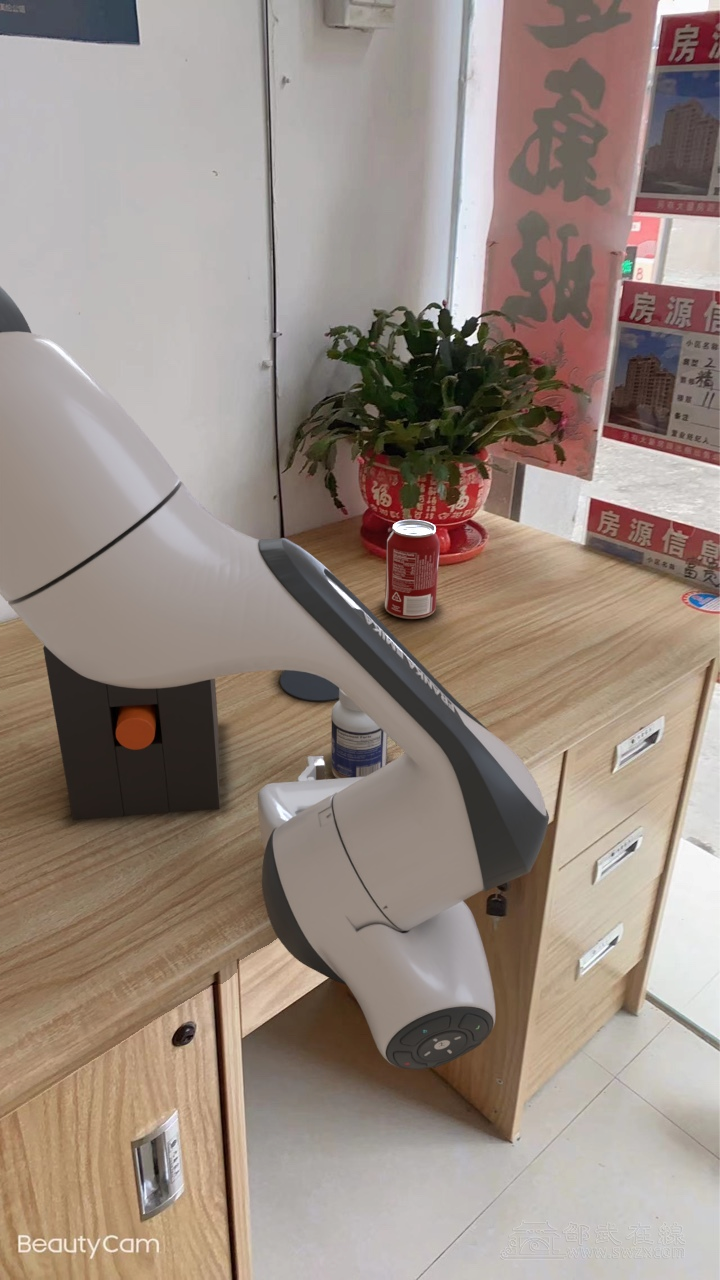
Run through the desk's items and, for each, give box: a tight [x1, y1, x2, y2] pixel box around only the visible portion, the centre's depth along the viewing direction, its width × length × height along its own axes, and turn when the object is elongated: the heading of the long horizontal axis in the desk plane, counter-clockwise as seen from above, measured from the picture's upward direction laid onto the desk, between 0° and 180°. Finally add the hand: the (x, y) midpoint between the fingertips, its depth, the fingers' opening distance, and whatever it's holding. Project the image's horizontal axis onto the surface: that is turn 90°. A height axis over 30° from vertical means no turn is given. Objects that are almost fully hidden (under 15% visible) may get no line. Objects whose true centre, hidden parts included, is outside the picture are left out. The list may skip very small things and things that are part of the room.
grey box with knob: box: [42, 644, 221, 821], centre depth 81 cm, size 13×13×18 cm
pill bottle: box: [330, 688, 388, 779], centre depth 84 cm, size 5×5×10 cm
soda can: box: [384, 519, 441, 620], centre depth 115 cm, size 7×7×12 cm
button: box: [116, 704, 157, 750], centre depth 75 cm, size 3×3×3 cm
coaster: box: [279, 670, 339, 703], centre depth 101 cm, size 9×9×1 cm
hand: (366, 758), depth 79 cm, fingers open, 8 cm apart
